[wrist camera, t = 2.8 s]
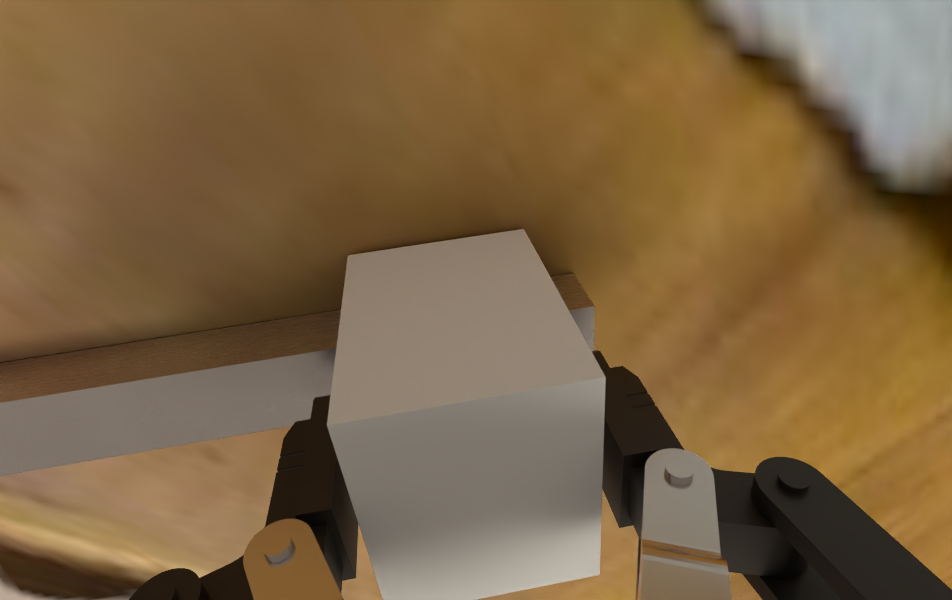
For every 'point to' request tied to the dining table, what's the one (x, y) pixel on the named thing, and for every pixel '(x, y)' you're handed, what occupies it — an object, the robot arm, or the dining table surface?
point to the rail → (180, 388)
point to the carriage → (467, 420)
